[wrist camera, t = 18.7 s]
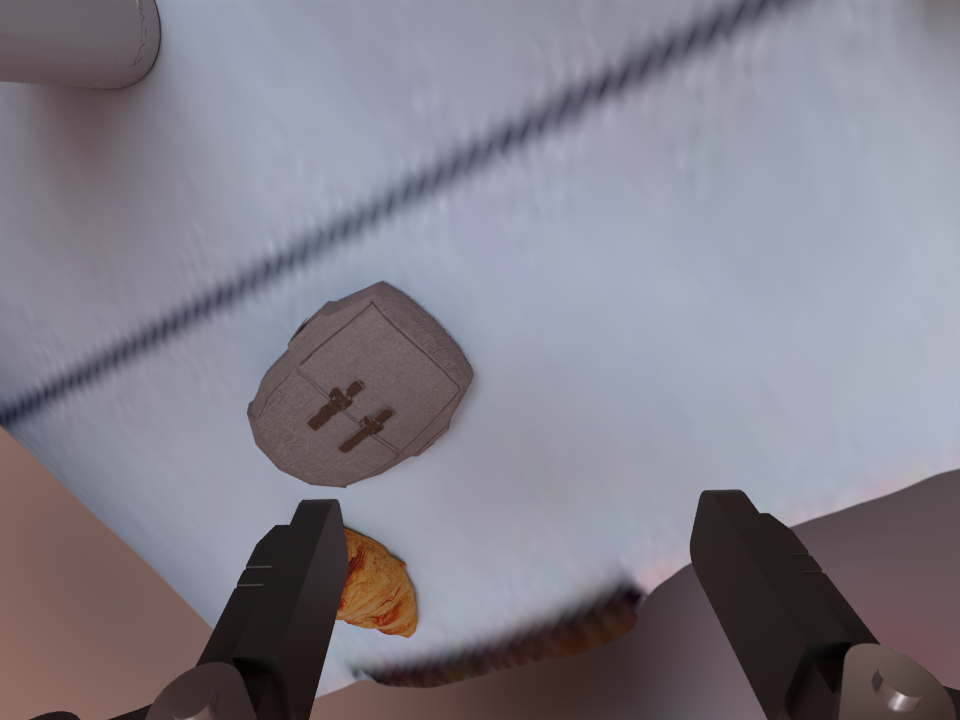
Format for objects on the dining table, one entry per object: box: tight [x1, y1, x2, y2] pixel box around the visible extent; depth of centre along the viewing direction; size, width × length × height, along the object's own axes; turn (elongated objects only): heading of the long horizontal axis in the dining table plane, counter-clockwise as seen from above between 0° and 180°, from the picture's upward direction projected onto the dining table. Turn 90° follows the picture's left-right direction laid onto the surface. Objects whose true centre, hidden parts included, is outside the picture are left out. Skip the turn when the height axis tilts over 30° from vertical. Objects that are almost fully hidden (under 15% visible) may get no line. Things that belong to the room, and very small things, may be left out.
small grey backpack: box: [247, 281, 473, 488], centre depth 44 cm, size 15×8×20 cm
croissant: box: [336, 528, 418, 638], centre depth 55 cm, size 21×10×8 cm, turn 32°
